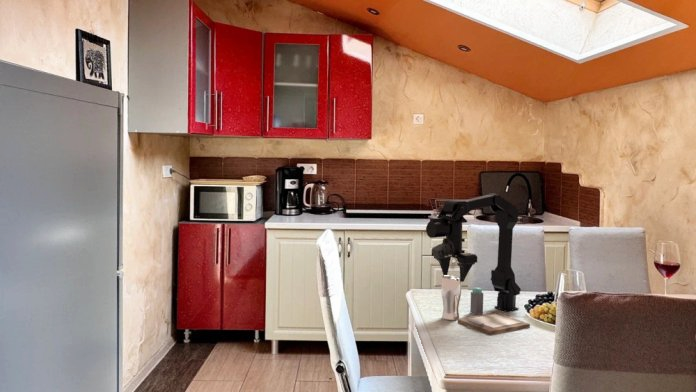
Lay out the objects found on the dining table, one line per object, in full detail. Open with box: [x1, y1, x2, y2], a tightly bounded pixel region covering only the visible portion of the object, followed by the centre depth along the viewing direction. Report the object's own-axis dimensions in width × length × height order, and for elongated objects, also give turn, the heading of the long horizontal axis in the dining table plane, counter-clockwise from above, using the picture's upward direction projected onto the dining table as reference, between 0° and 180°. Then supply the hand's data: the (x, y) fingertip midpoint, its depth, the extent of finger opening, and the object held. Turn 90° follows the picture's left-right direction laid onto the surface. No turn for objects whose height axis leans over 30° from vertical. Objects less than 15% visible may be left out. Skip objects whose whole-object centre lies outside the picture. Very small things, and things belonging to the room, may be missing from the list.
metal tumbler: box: [440, 274, 462, 322], centre depth 205 cm, size 7×7×15 cm
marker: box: [470, 286, 484, 316], centre depth 212 cm, size 3×3×9 cm
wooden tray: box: [457, 311, 531, 336], centre depth 198 cm, size 18×16×2 cm
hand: (453, 279), depth 205 cm, fingers open, 9 cm apart
